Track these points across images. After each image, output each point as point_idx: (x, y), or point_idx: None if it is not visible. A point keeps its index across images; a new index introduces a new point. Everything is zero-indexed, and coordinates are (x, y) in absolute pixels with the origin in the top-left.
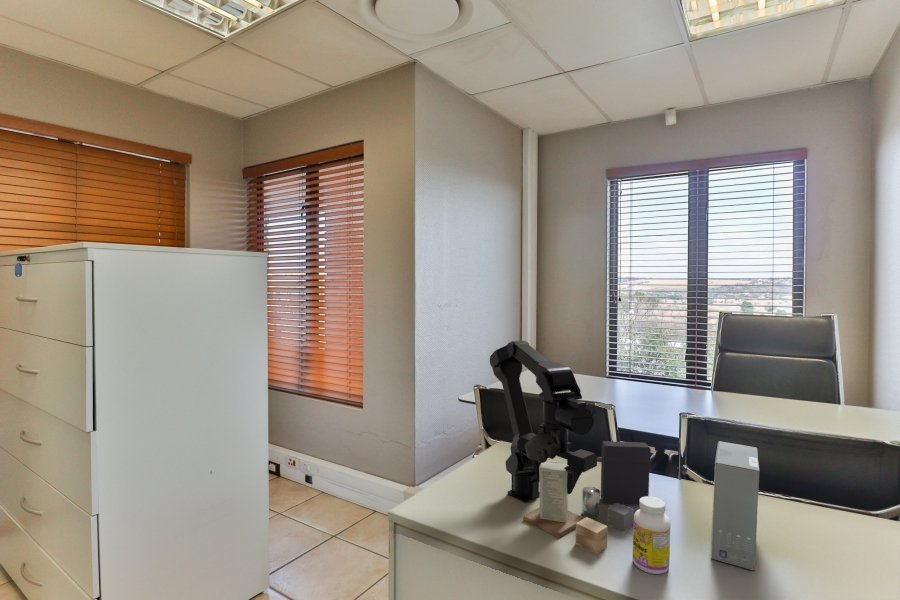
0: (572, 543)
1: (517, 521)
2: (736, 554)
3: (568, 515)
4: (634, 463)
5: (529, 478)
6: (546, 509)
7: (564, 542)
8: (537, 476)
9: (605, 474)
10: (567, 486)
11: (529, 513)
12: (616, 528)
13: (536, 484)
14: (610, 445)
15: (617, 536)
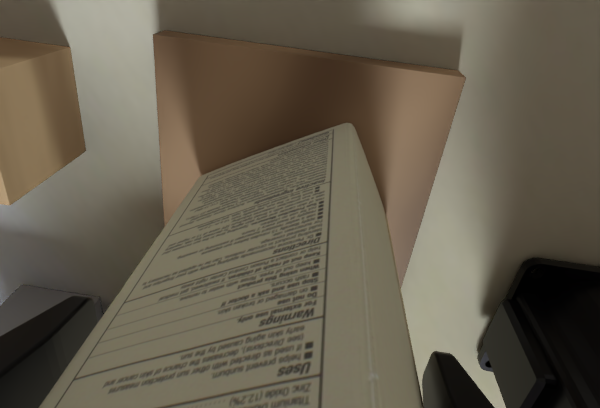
0: (80, 34)
1: (488, 24)
2: None
3: None
4: None
5: (582, 405)
6: (302, 161)
7: (114, 8)
8: (470, 396)
9: None
10: (22, 348)
11: (440, 133)
12: (55, 291)
13: (514, 388)
14: None
15: (9, 240)
